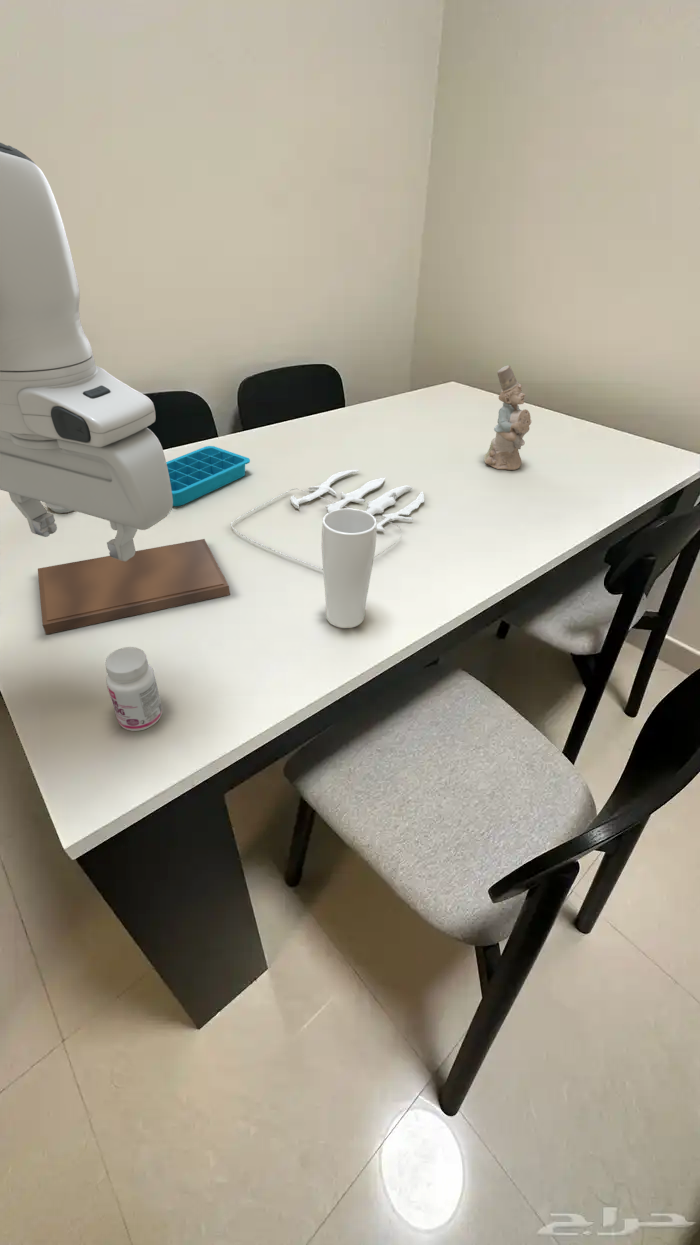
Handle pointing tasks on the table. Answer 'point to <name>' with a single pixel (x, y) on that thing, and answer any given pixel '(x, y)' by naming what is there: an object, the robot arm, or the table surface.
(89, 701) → the table surface
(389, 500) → the knife set
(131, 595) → the cutting board
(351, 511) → the drinking glass
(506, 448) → the figurine
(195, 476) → the ice cube tray
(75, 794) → the table surface
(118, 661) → the pill bottle
